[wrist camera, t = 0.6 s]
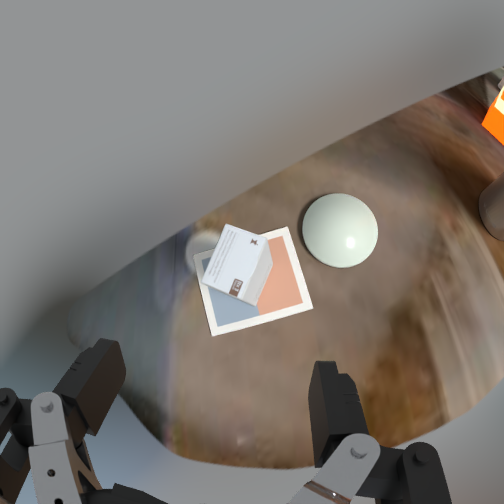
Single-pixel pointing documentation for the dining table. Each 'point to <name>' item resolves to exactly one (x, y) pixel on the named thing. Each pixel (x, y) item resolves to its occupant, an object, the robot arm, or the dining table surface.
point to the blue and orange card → (272, 296)
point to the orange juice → (496, 118)
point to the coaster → (339, 230)
